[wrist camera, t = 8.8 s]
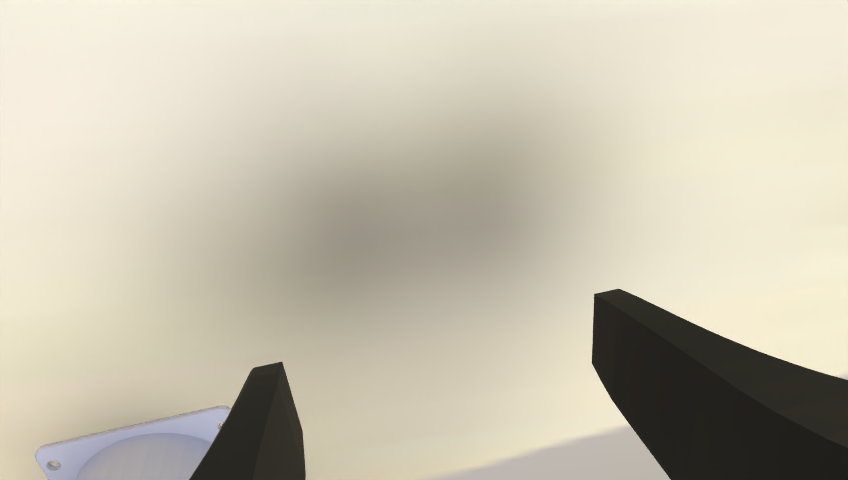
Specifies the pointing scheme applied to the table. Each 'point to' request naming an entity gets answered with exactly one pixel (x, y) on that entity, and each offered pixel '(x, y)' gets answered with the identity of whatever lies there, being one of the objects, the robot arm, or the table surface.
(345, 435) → the table surface
